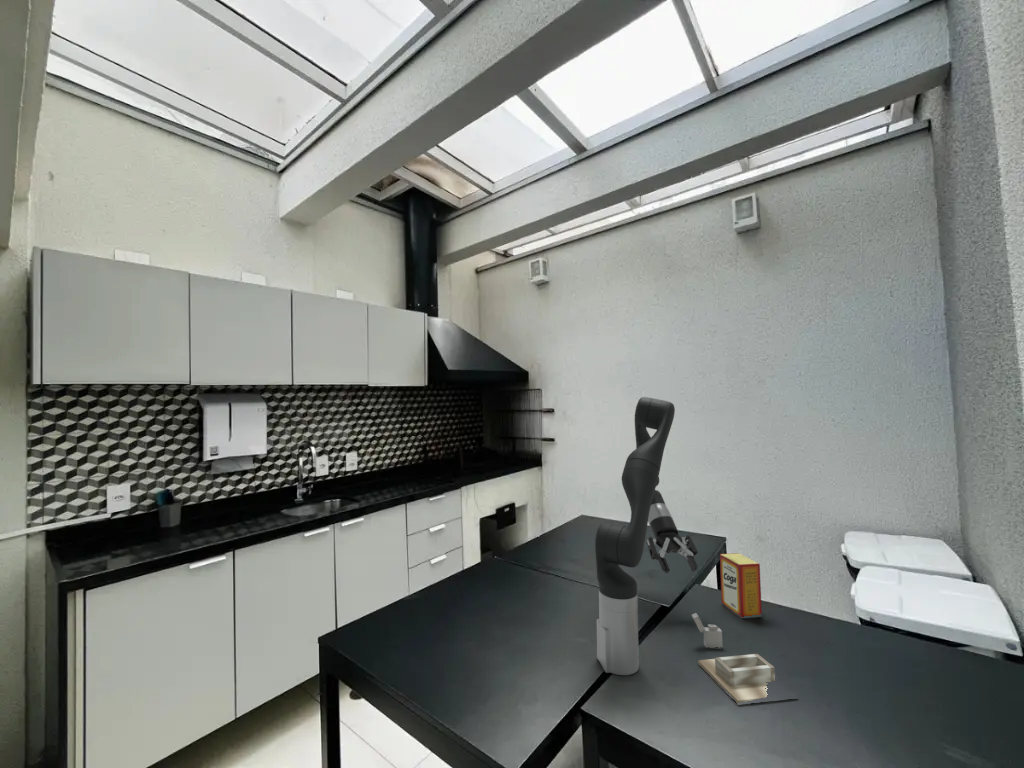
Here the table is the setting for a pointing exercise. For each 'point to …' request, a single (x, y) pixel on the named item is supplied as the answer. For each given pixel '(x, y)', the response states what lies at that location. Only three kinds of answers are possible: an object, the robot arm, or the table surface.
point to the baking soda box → (740, 584)
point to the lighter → (709, 633)
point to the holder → (741, 675)
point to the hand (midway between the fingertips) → (681, 571)
